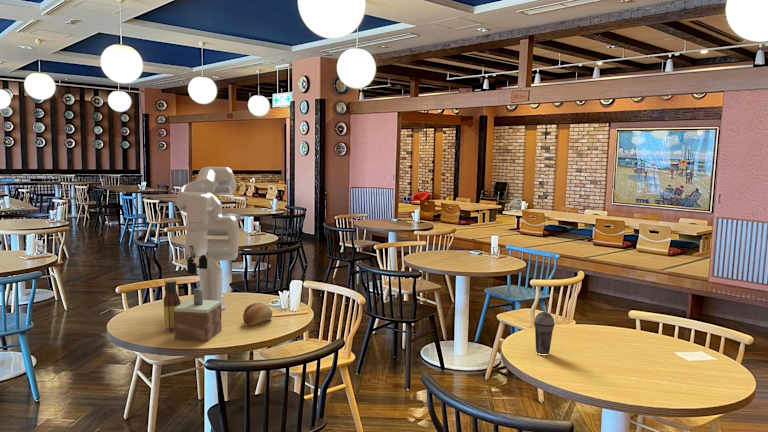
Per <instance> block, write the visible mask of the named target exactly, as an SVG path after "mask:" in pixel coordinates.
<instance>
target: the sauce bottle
mask: <svg viewBox="0 0 768 432" xmlns="http://www.w3.org/2000/svg"><path fill="white" fill-rule="evenodd" d="M164 285H165V289H166V290H165V294H164V298H163V315H164V317H163V319H164V329H165V332H169V333H175V332H174V308H175V307H177V306H179V305H180V304H181V300H180V297H179V295H178V292H177V291H178V290H177V280H174V279H171V280H165V283H164Z"/></svg>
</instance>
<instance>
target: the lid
mask: <svg viewBox="0 0 768 432" xmlns="http://www.w3.org/2000/svg"><path fill="white" fill-rule="evenodd" d="M220 304H221V301H213V300H203V293H202V288H200V287H198V288H197V287H196V288H194V289H193V298H192V299H191V298H190V299H188V300H186V301H184V302H183V303H180V305H179V306H177V307H175V308H174V311H180V312H197V313H208V312H210V311H211V310H213V309H214V308H216V307H217V306H219V305H220Z"/></svg>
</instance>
